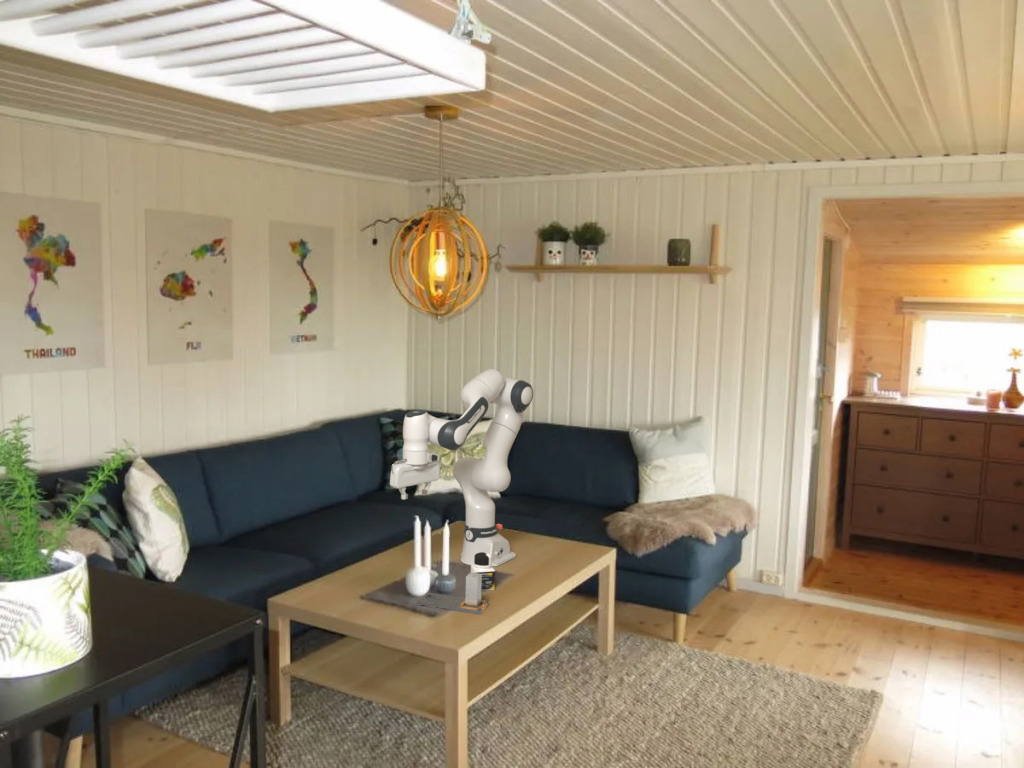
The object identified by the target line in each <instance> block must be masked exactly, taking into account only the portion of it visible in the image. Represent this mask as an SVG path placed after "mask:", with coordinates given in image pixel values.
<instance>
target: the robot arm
mask: <svg viewBox="0 0 1024 768" xmlns="http://www.w3.org/2000/svg"><path fill="white" fill-rule="evenodd" d="M533 389H534V388H533V386H532V384H530V383H529V382H527V381H525V380H521V379H517V378H512V377H505V376H503V374H502V373H501V372H500V371H499V370H497V369H494V368H488V369H486V370H483V371H482V372H480V373H478V374H477V375H476V376H474V377H473V378H472V379H471V380H469V381H468V382H467V383H465V384H464V386H463V387H462V389H461V390H460V401H461V404H462V406H463V407H464V408H465V409H466V410H465V412H464V413H462V415H460V417H459V418H458V419H451V420H449V419H443V418H438V417H435V416H433V415H431V414H429V413H428V412H427V411H426V409H425V410H424V409H413V410H409V411H408V412H407V413H405V416H404V419H403V426H402V438H403V445H402V459H400V460H395V461H394V462H393V464H392V465H391V471H390V477H389V485H390V487H392V488H393V489H398V491H399V493H400V494H401V495H400V499H401V500H408V499H409V494H408V493H406V489H407V487H412V486H416V485H421V484H424V488H423V489H421V494H422V496H427V495H429V490H430V488H431V485H432V482H435V481H436V482H437V481H439V479H440V476H441V466H440V465H441V464H440V462H439V461H440V455H439V454H438V453H433V452H432V451H429V446H430V445H431V446H435V447H438V448H443V449H446V450H449V451H456V450H458V449H460V448H461V447H463V445H464V443H465V442H466V440H467V438H468V436H469V435H470V434H471V432H472V431H473V430H474V429H475V427H476V426H477V425H478V424H479V423H480V422H481V420H482V419H483V417H484V416H485V415H486V413H487V412H488V409H489V404H495V405H497V406H498V410H497V411H496V414H495V415H494V417H493V418H492V420H491V422H490V424H489V426H488V428H487V430H486V432H485V434H484V436H483V438H482V441H481V442H482V446H483V448H484V449H485V454H484V457H483V459H481V458H476V457H461V458H459V459H457V460H456V462H455V463H454V465H453V468H452V473H453V478H454V480H456V482H457V483H458V485H459V487H460V489H461V492H462V495H463V499H464V504H465V523H464V527H463V530H464V531H463V534H464V535H463V542H462V552H461V553H460V562H461V563H462V564H465V565H468V566H471V565H474V556H475V554H477V553H480V552H486V553H489V554H491V555H492V567H498V566H501V565H503V564H505V563H507V562H509V561H510V560H512V559H515V558H516V557H517V555H516V553H515V552H514V551H511V547H510V546H511V545H510V542H509V541H508V540H507V538H505V537H504V536H502V535H501V534H500V533H499V532H498V531H499V530H502V529H504V528H503V524H501V523H497V524H496V523H495V522H496V520H495V519H496V516H495V515H496V504H495V502H494V501H493V499H492V498H491V496H490V495H489V493H499V492H500V493H501V492H505V490H506V489H507V488H509V486H510V483H511V472H510V470H509V467H508V458H509V454H510V451H511V449H512V447H513V444H514V442H515V439H516V438H517V435H518V433H519V431H520V429H521V426H522V422H523V419H524V412H525V411H526V410H527V409H528V407H529V406H530V404H531V403H532V402H533V398H534V390H533Z"/></svg>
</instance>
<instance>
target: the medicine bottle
mask: <svg viewBox="0 0 1024 768" xmlns="http://www.w3.org/2000/svg"><path fill="white" fill-rule="evenodd" d="M470 573H478V574H482V584H481V590H486V591H495V585H496V582H495V581H496V570H495V568H494V566H492V555H491V554H489V553H486V552H480V553H477V554H475V556H474V565H470Z"/></svg>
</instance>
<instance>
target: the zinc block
mask: <svg viewBox="0 0 1024 768" xmlns="http://www.w3.org/2000/svg"><path fill="white" fill-rule="evenodd" d="M481 584H482V574H478V573H471V572H469V573H468V574H467V575H466V576H465V598H466V599H465V606H467V607H474V608H479V607H480V606H481V600H482V591H481Z"/></svg>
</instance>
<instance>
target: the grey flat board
mask: <svg viewBox="0 0 1024 768" xmlns="http://www.w3.org/2000/svg"><path fill="white" fill-rule="evenodd" d="M428 597H429V598H428ZM427 598H428V599H431V598H437V599H436V600H438V599H441V600H439V601H438V602H436V601H430V600H428V599H427ZM426 599H427V600H426ZM465 599H466V597H462V596H457V595H456V596H454V595H449V594H440V593H433V592H426V593H425V594H424V595H422V596H421V598H419V599H417V601H416V605H417V604H423V605H427V606H433V607H439V608H438V609H440V608H446V609H450V610H449V611H455V612H461V613H469V614H475V615H481V614H482V613H483V612H484V611H485V610H486V609H487V608H489V605H490V600H486V599H485V600H484V599H481V606H480V607H479V608H474V607H467V606H465ZM424 600H426V601H424ZM433 607H432V608H433ZM446 609H445V610H446Z"/></svg>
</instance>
